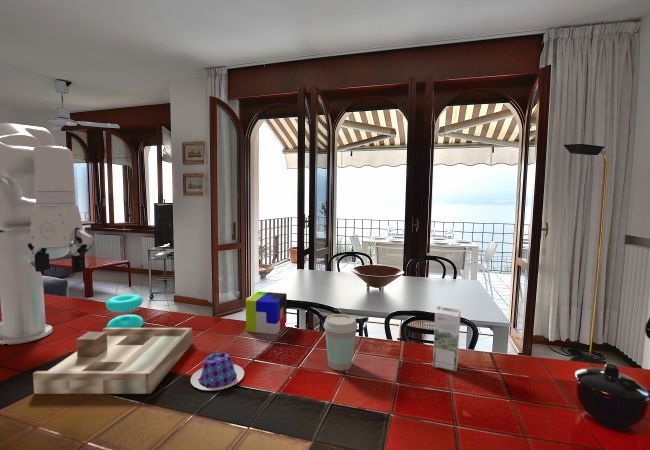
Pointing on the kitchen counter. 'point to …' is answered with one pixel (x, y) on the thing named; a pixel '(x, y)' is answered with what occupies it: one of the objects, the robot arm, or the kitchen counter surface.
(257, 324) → the puzzle toy
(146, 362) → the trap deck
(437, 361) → the syrup box
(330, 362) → the coffee cup
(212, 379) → the pudding
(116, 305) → the donuts
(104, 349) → the walnut block
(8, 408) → the kitchen counter surface
